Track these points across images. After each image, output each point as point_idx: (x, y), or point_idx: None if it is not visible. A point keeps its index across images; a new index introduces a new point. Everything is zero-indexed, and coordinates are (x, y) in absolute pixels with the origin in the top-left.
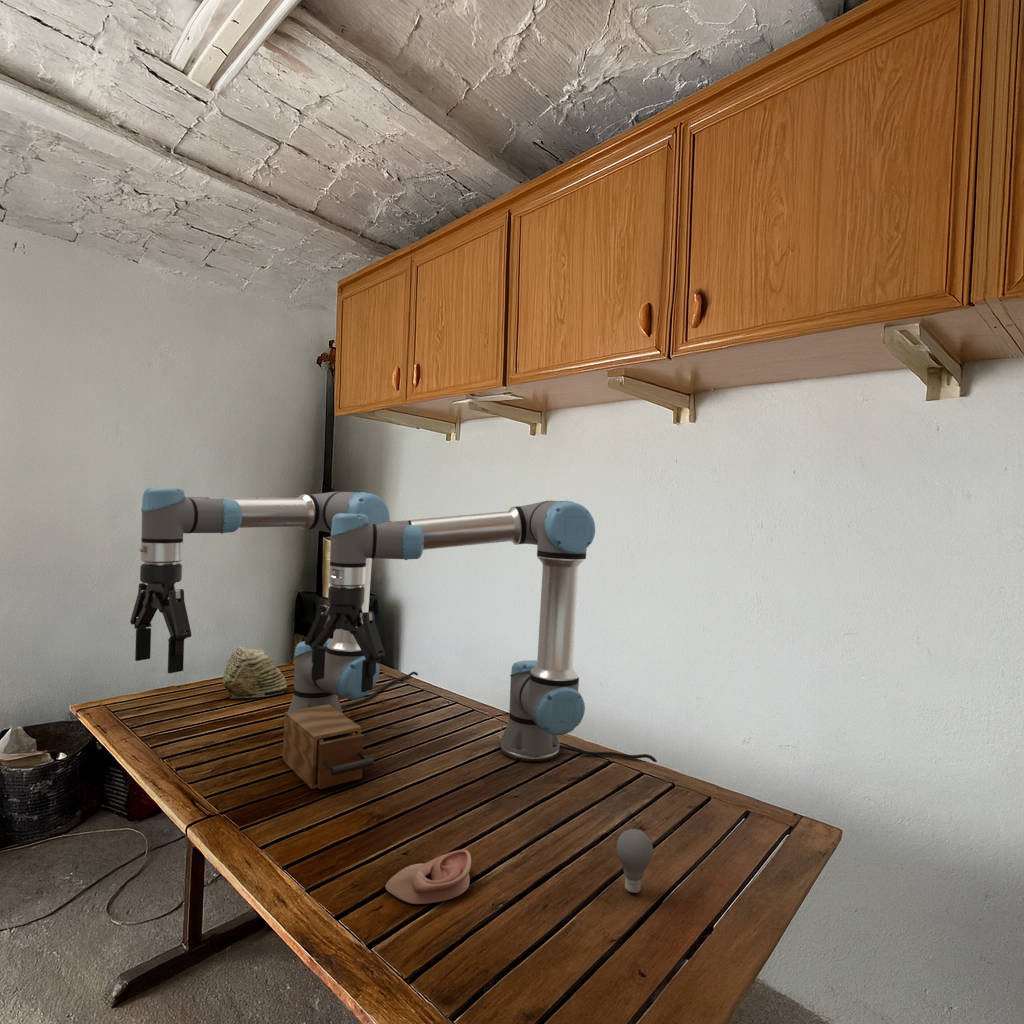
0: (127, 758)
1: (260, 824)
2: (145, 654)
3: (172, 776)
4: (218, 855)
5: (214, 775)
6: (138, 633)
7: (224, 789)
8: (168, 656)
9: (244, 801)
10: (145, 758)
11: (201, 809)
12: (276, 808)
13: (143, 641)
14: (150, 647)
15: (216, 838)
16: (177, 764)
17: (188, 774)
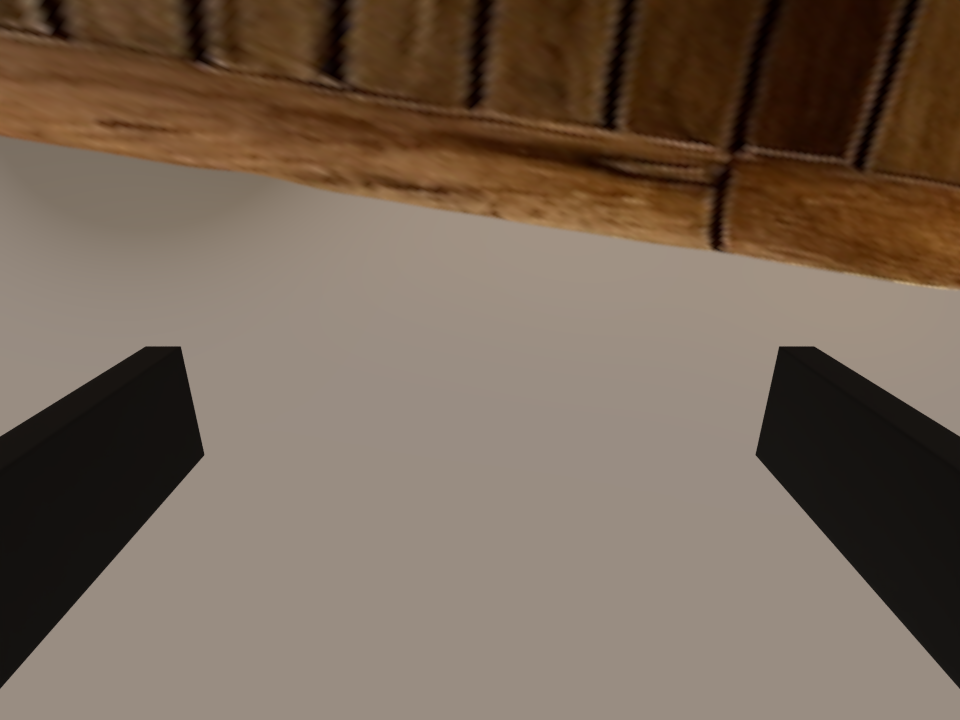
0: (123, 149)
1: (891, 111)
2: (163, 411)
3: (380, 117)
4: (902, 275)
5: (479, 5)
6: (2, 677)
7: (607, 48)
8: (848, 553)
9: (735, 54)
10: (160, 105)
11: (666, 177)
12: (866, 8)
13: (75, 522)
14: (108, 395)
15: (836, 236)
16: (290, 49)
17: (403, 69)
